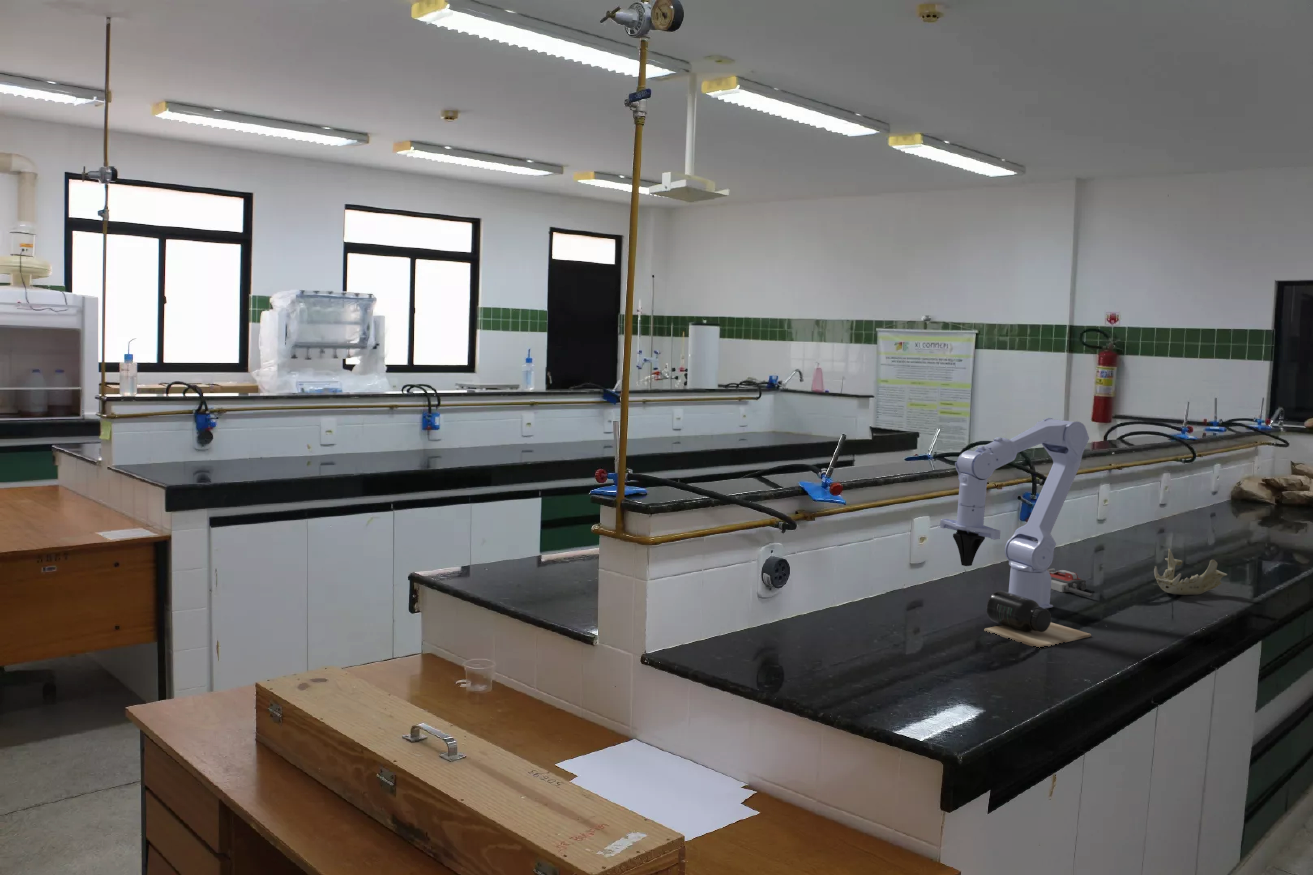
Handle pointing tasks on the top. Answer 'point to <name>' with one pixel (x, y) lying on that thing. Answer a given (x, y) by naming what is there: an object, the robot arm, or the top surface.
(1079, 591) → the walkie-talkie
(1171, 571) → the mandible
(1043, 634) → the tan paper sheet
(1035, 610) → the supplement bottle
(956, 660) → the top surface
